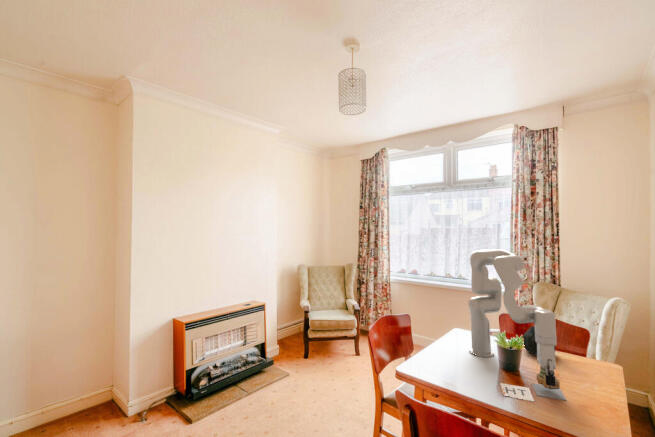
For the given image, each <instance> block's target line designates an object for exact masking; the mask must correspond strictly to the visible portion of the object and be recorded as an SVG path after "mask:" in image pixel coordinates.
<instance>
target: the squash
mask: <svg viewBox="0 0 655 437" xmlns="http://www.w3.org/2000/svg"><path fill="white" fill-rule="evenodd" d="M522 338H524V345H525V346H523V347H524V349H525V350H526V352H528V353H530V354H532V355H534V356H537V342H536V341H535V325H533V326H530V327H529V329H527V331H525V332H524V334H523V336H522ZM554 350H555V351H556V346H554Z"/></svg>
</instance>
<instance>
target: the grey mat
mask: <svg viewBox="0 0 655 437" xmlns="http://www.w3.org/2000/svg"><path fill="white" fill-rule="evenodd" d="M531 384H532V386H533V389H534V391H535V393H536V396H537V397H543V398H548V399H554V400H560V401H565V402H566V401H568V400H567V398H566V396H565V395H564V393H563V392H562V390H561V388H559V389H548V388H545V387H544V386H543V385H542V384H539V383H538V384H537V383H531Z"/></svg>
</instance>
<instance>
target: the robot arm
mask: <svg viewBox="0 0 655 437" xmlns="http://www.w3.org/2000/svg"><path fill="white" fill-rule="evenodd" d="M469 261H470V262H469V263H470V267H471V291H472V293H473V294H475V295H477V296H473V297H470V299H469V300H468V302H467V304H468V305H467V307H468V310H469V315H470V328H471V331H470V332H471V347H469V348H468V349H469V350H470V351H469V350H468V351H469V353H470V352H472V353H474V354H476V355H478V356H477V357H480V356H484V357H483V358H491V357H490V356H492V357H493V355H495V351H494V350H492V347H491V327H490V325H491V324H490V320H489V318H488V317H487V316H486V314H493V313H499V311H500V310H501V309H502V308H501V307H502V300H503V305H504V308H505V310H506V311H507V312H506V313H508V315H509V317H510V318H511V320H512V321H514V322H515V323H517V324H529V323H530V324H531V323H534V325H533V326H534V327H535V341H536V342H537V355H536V359H537V362H538V364H539V366H540V369H542V368H545V370H546V375H545V377H546V385H551V386H555V377H556V375H555V370H556V366H557V365H556V349H555V350H554V346H555V347H556V346H557V345H558V343H557V340H558V339H557V327H556V326H557V325H556V314H555V313H554V311H552V310H549V309H544V308H543V307H541V306H538V305H537V304H536V305H535V304H529V305H519V304H518V303H517V300H516V298H515V294H516V293H515V292H516V291H517V290H518V289H520V288H522V286H523V285H524V281H523V279H522V278H521V275H520V274H519V272H522V270H523V269H524V268H525V263H524V260H523V259H522V258H521V257H520V256H519V255H517V254H515V253H512V252H509V251H507V250H505V249H500V248H498V249H497V248H495V249H494V248H493V249H479V250H475V251H473V252H472V253H471V255H470V258H469ZM488 266H493V268H494V270H495V272H496V273H497V275H498V277H499V279H500V281H501V282H500V281H499V279H498V278H497V277H494V276H490V277H489V269H488V268H487V267H488ZM501 283H502V284H501ZM502 285H503V286H504V291H503V290H502V288H503V287H502ZM502 292H503V294H502ZM502 296H503V299H502ZM472 353H471V354H472ZM474 354H473V355H474ZM476 355H475V356H476ZM547 366H548V367H549V368H548V367H547ZM541 367H542V368H541ZM540 369H539V370H540ZM548 370H549V371H548Z"/></svg>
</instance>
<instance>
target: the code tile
mask: <svg viewBox="0 0 655 437" xmlns="http://www.w3.org/2000/svg"><path fill="white" fill-rule="evenodd" d="M500 388H501V390H502V389H504V390H503V392H506V393H507V396H510V397H509V398H511V397H512V399H516V398H518V400H522V399H523V401H527V402H535V399H534V397H533V394H532V392H531V389H530V387H526V386H521V385H512V384H508V383H502V382H500ZM508 391H510V393H509V392H508ZM503 392H502V393H503ZM505 396H506V395H505ZM505 396H504V397H505Z"/></svg>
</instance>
